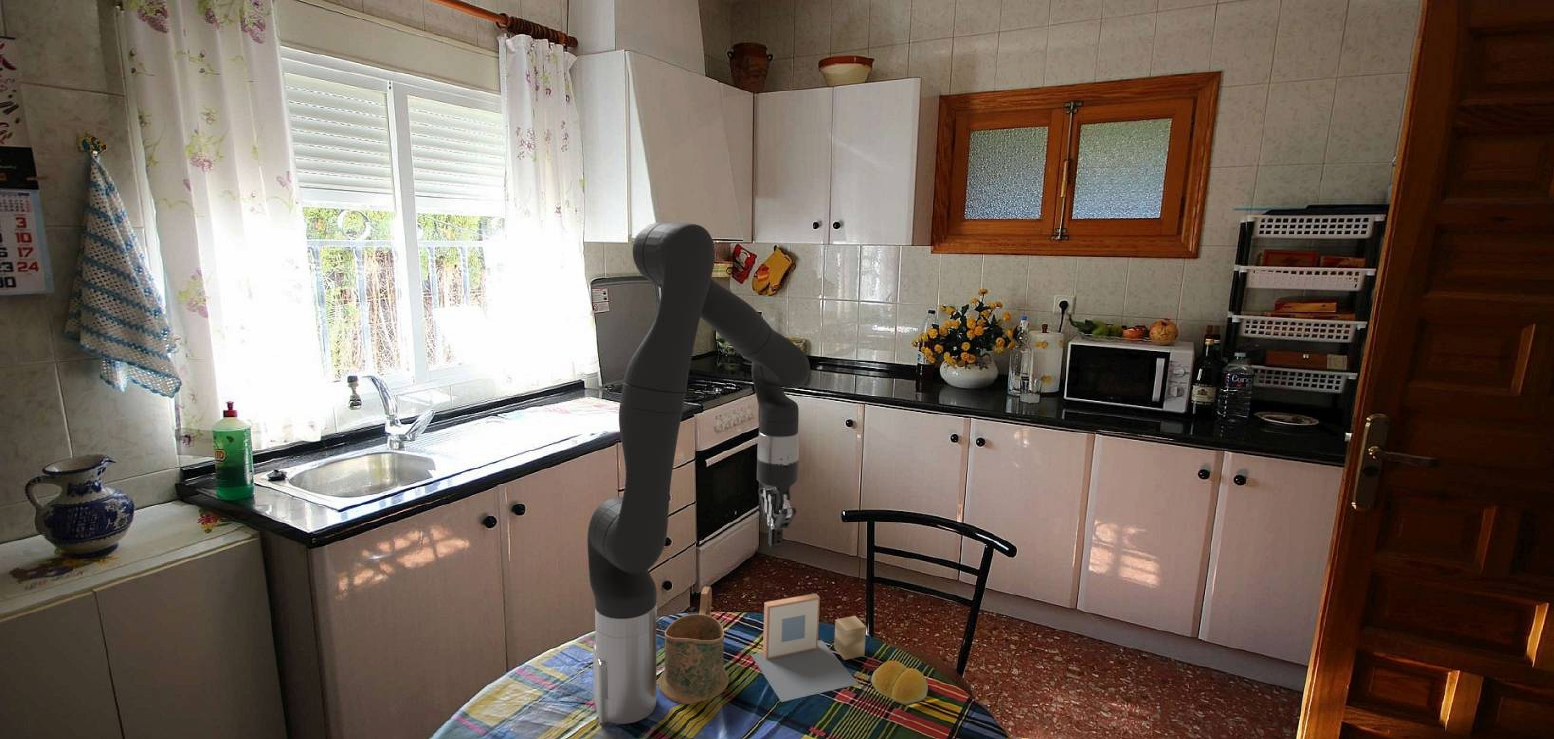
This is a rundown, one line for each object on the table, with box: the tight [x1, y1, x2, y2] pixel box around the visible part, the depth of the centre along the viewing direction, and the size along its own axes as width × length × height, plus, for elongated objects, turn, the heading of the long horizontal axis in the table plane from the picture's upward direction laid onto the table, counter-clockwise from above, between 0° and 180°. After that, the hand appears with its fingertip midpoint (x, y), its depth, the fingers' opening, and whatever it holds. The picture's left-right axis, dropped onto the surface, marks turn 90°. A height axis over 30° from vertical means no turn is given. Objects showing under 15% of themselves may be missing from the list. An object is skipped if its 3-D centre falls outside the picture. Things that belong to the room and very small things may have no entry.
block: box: [833, 615, 867, 661], centre depth 127 cm, size 4×4×6 cm
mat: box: [750, 639, 859, 703], centre depth 122 cm, size 14×14×1 cm
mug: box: [658, 586, 730, 705], centre depth 120 cm, size 12×18×12 cm, turn 174°
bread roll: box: [871, 660, 929, 705], centre depth 118 cm, size 8×9×4 cm
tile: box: [762, 592, 821, 659], centre depth 126 cm, size 10×2×10 cm, turn 113°
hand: (775, 545), depth 132 cm, fingers closed
